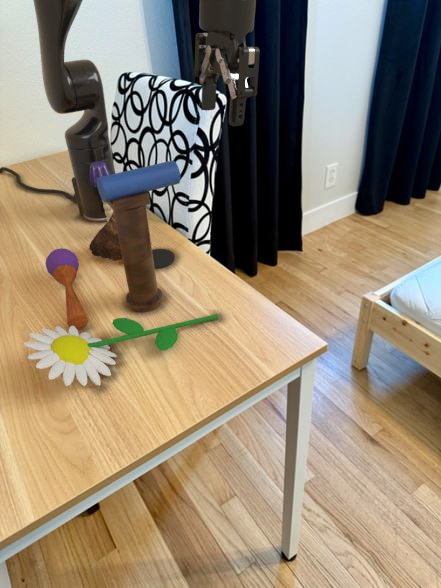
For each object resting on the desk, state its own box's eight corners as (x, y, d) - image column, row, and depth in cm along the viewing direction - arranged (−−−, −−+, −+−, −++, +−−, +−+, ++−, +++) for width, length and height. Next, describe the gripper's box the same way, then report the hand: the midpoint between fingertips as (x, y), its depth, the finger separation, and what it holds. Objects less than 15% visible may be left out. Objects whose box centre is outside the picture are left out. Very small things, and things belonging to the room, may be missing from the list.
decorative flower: (200, 307, 79) (23, 345, 66) (202, 286, 76) (18, 322, 63) (232, 353, 70) (36, 408, 57) (237, 331, 67) (31, 384, 54)
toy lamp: (118, 241, 94) (104, 168, 84) (98, 240, 95) (82, 167, 85) (126, 231, 98) (113, 159, 88) (107, 229, 99) (92, 158, 88)
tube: (107, 206, 62) (102, 182, 60) (99, 197, 65) (94, 174, 62) (181, 187, 67) (179, 164, 65) (171, 179, 69) (169, 157, 67)
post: (135, 317, 74) (113, 205, 61) (122, 297, 78) (99, 190, 65) (168, 304, 76) (155, 195, 64) (154, 286, 81) (138, 180, 68)
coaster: (134, 265, 86) (134, 264, 86) (150, 248, 92) (149, 246, 91) (166, 271, 84) (165, 269, 84) (180, 253, 90) (180, 251, 89)
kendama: (52, 317, 68) (38, 249, 81) (68, 340, 72) (52, 272, 86) (88, 302, 69) (68, 238, 83) (101, 326, 73) (80, 261, 87)
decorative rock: (152, 251, 90) (145, 204, 84) (141, 267, 86) (133, 219, 79) (100, 246, 93) (89, 200, 86) (86, 261, 88) (74, 213, 82)
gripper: (179, -16, 60) (179, 107, 70) (231, -8, 50) (223, 133, 60) (225, -14, 63) (219, 103, 73) (283, -6, 53) (267, 128, 63)
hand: (221, 117), depth 66 cm, fingers open, 8 cm apart
